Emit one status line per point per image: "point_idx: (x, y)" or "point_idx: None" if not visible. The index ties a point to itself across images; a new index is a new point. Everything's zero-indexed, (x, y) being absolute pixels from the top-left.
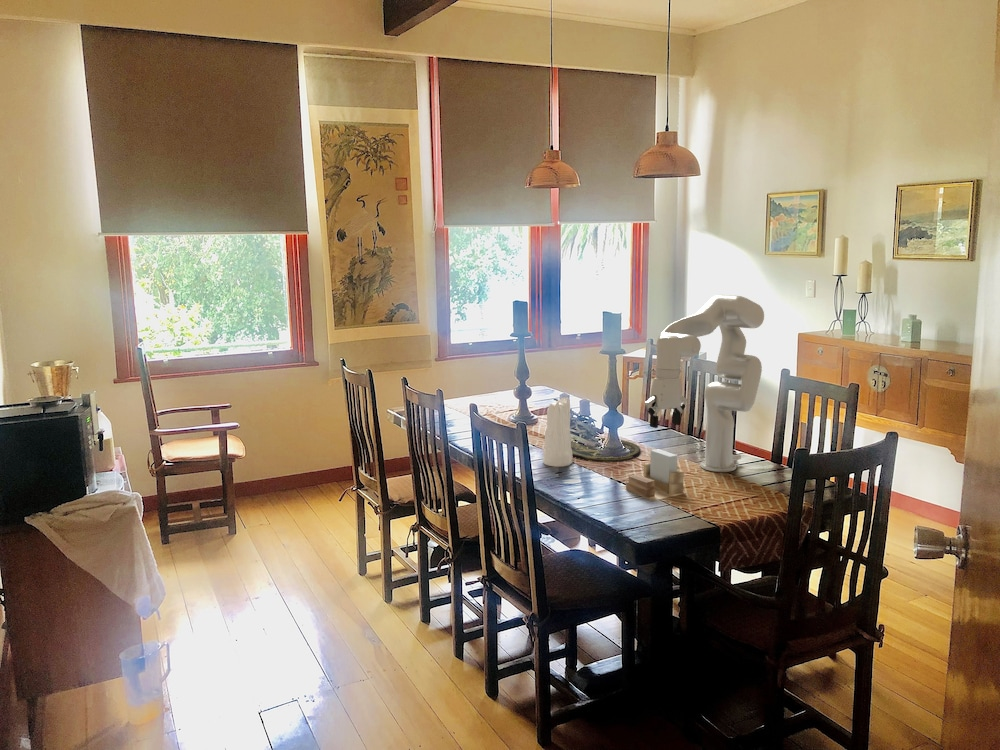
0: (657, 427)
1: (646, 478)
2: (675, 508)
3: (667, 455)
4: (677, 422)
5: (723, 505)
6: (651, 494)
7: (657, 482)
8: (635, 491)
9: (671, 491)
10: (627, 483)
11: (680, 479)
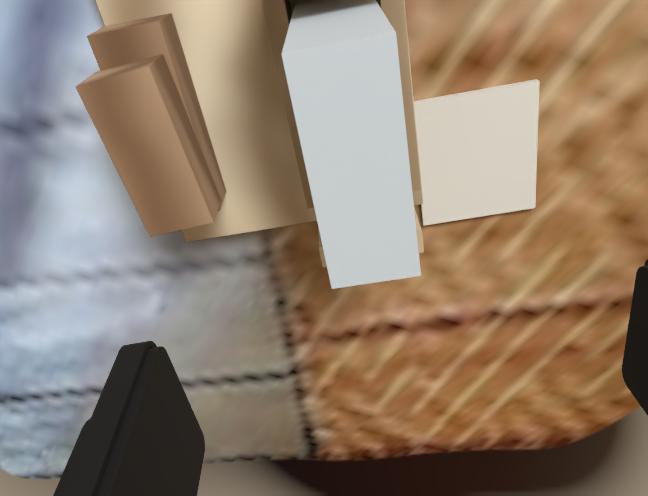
0: (197, 447)
1: (182, 170)
2: (268, 300)
3: (338, 256)
4: (643, 389)
5: (479, 332)
6: None
7: (289, 122)
8: None
9: None
10: (94, 51)
11: None
